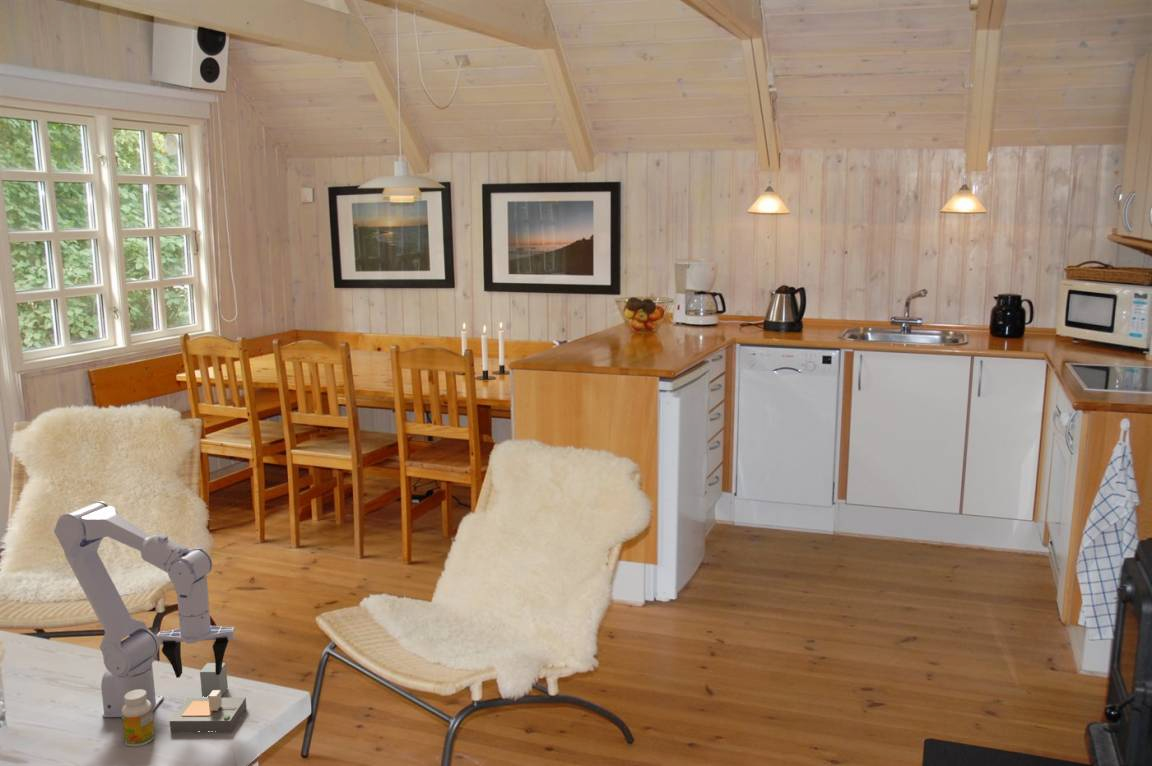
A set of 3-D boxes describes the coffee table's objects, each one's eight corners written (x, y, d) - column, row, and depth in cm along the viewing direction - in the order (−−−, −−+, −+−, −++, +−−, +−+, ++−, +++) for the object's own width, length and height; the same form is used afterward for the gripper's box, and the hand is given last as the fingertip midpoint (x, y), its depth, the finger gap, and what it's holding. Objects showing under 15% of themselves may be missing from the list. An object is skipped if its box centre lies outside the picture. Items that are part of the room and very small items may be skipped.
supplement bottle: (118, 743, 186) (113, 697, 184) (142, 729, 191) (137, 684, 189) (137, 750, 184) (132, 703, 182) (160, 736, 188) (156, 691, 187)
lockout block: (202, 698, 203) (199, 672, 202) (209, 688, 207) (207, 663, 206) (221, 698, 203) (218, 671, 202) (227, 688, 207) (225, 662, 206)
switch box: (170, 732, 190) (169, 719, 189) (188, 708, 199) (187, 696, 198) (230, 732, 190) (229, 719, 189) (246, 708, 199) (245, 696, 198)
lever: (209, 710, 192) (208, 696, 192) (214, 704, 195) (212, 690, 194) (217, 710, 192) (216, 696, 192) (221, 704, 195) (220, 690, 194)
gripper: (149, 621, 186) (155, 686, 188) (227, 617, 188) (232, 680, 190) (159, 606, 192) (165, 669, 195) (234, 602, 195) (239, 664, 197)
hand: (199, 673), depth 193 cm, fingers open, 7 cm apart
